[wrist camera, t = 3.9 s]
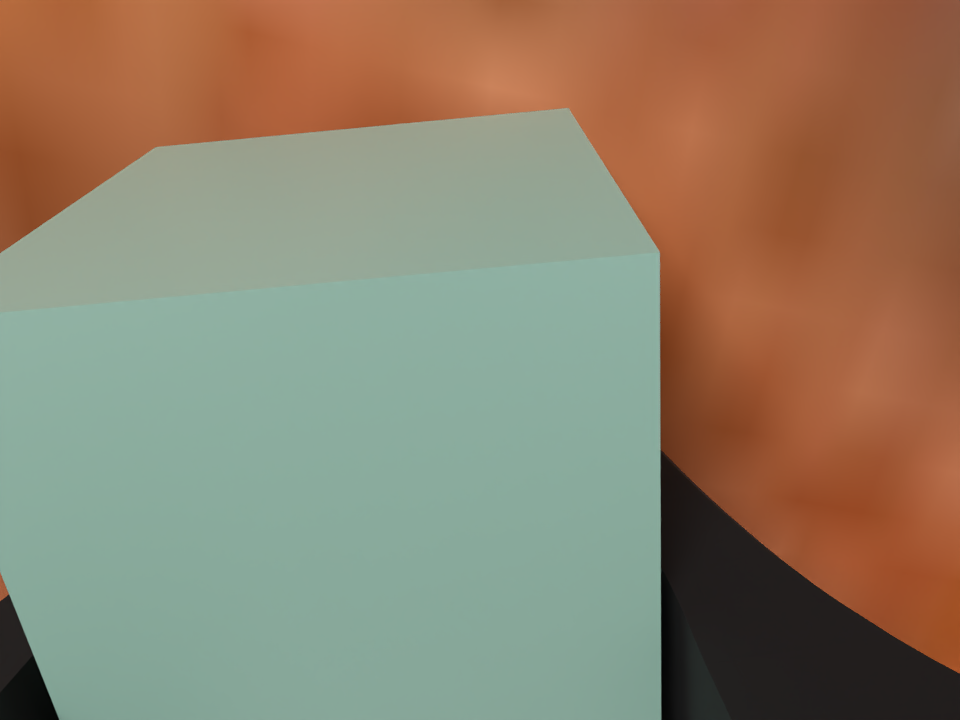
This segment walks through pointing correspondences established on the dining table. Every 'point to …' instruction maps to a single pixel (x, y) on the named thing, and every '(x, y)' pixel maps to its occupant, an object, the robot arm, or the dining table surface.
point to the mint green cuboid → (339, 431)
